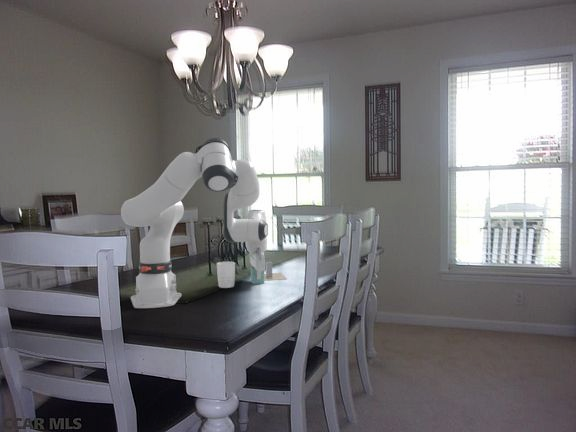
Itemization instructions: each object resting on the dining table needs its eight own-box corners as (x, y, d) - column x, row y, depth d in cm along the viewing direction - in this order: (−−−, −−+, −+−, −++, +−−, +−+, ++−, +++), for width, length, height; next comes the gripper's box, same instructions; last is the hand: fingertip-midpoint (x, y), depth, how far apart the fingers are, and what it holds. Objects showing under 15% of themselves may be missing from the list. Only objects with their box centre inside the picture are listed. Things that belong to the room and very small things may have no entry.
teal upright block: (264, 283, 201) (264, 268, 201) (252, 284, 200) (252, 269, 200) (262, 280, 206) (262, 266, 206) (250, 281, 205) (250, 266, 205)
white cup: (232, 288, 192) (231, 265, 191) (214, 288, 193) (213, 264, 193) (238, 284, 199) (237, 261, 199) (220, 284, 201) (220, 261, 200)
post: (287, 279, 209) (286, 263, 209) (256, 281, 206) (256, 265, 206) (280, 273, 223) (280, 259, 222) (252, 275, 220) (251, 260, 219)
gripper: (268, 249, 193) (268, 282, 194) (260, 243, 213) (260, 273, 213) (253, 250, 191) (253, 282, 192) (246, 243, 211) (247, 273, 212)
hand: (257, 277), depth 203 cm, fingers closed on teal upright block, 5 cm apart
